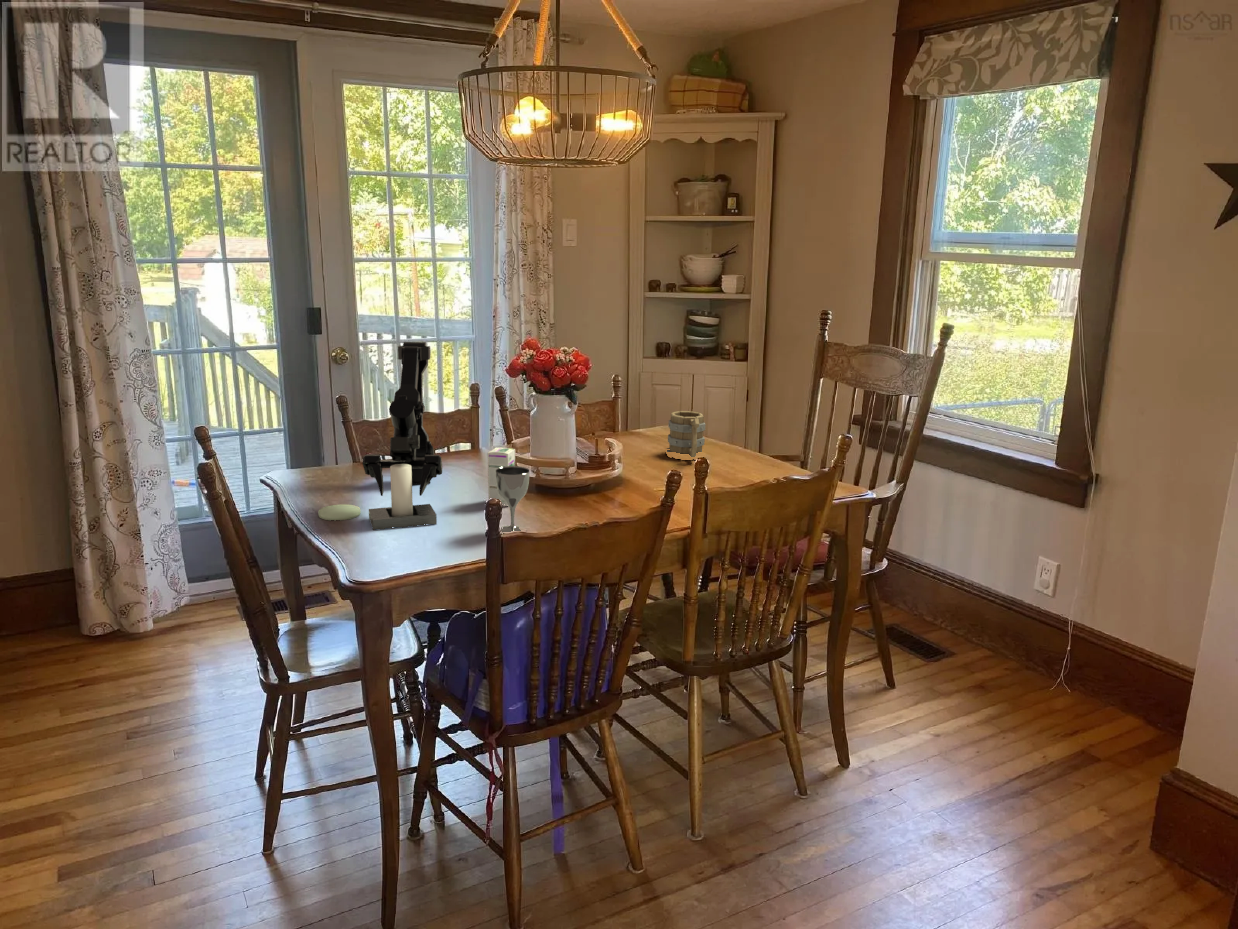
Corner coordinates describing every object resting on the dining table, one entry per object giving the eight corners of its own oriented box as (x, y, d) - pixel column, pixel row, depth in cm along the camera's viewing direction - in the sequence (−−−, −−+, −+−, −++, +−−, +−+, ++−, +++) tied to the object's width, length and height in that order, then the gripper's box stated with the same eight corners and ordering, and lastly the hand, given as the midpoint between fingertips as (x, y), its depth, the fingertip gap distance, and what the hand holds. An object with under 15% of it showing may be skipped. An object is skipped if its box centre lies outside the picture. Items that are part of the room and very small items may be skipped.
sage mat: (358, 506, 228) (358, 503, 227) (362, 518, 219) (362, 514, 218) (317, 510, 224) (317, 506, 224) (319, 522, 215) (319, 518, 215)
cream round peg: (411, 517, 221) (409, 463, 217) (414, 523, 216) (412, 468, 213) (390, 519, 219) (388, 464, 215) (393, 525, 214) (391, 469, 211)
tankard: (663, 451, 295) (665, 406, 291) (700, 451, 297) (702, 407, 293) (673, 466, 276) (675, 419, 272) (712, 466, 277) (715, 419, 274)
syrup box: (509, 507, 231) (509, 453, 227) (487, 505, 232) (487, 451, 229) (515, 500, 237) (516, 448, 233) (494, 499, 238) (494, 446, 234)
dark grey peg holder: (430, 513, 224) (429, 503, 224) (436, 524, 216) (436, 514, 216) (369, 518, 219) (368, 508, 218) (373, 530, 211) (372, 520, 210)
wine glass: (496, 524, 217) (496, 465, 213) (529, 525, 218) (529, 466, 214) (495, 535, 209) (494, 474, 206) (528, 535, 210) (529, 474, 206)
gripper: (362, 422, 214) (356, 478, 206) (440, 422, 216) (437, 478, 208) (368, 446, 224) (363, 501, 216) (443, 446, 226) (441, 500, 218)
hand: (401, 495), depth 214 cm, fingers open, 9 cm apart
